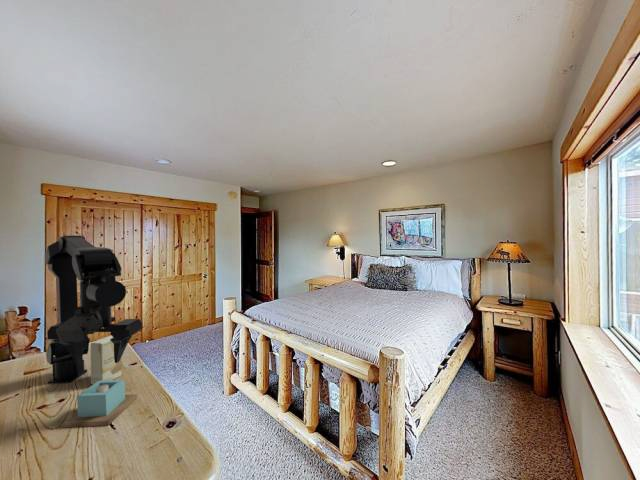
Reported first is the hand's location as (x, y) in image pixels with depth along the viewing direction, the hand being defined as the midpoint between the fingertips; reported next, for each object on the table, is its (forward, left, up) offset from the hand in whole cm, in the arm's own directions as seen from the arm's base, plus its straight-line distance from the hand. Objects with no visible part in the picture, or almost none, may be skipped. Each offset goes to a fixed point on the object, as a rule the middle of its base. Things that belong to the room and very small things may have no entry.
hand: (98, 362), depth 65 cm
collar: (+1, -1, -11) cm, 11 cm away
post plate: (+1, -1, -12) cm, 12 cm away
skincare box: (-9, +14, -12) cm, 21 cm away
